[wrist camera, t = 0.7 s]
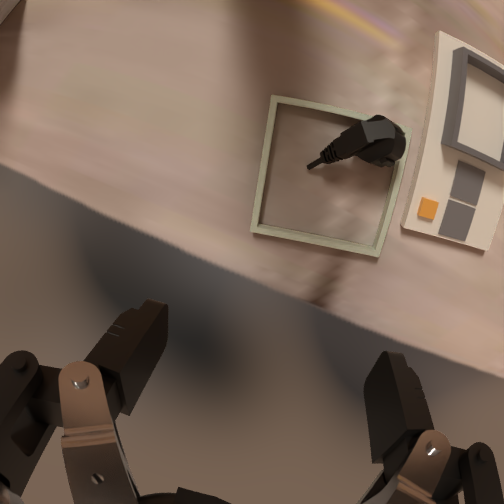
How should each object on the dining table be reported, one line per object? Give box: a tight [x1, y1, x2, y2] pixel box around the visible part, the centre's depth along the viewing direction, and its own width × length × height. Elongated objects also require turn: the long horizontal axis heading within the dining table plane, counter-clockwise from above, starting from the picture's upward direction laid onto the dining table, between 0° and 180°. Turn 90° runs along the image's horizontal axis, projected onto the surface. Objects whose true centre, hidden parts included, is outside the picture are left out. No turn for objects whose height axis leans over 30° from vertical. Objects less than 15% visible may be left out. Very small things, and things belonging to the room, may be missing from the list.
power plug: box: [307, 115, 406, 170], centre depth 33 cm, size 6×8×12 cm
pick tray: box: [250, 95, 412, 257], centre depth 35 cm, size 18×18×2 cm
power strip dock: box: [401, 30, 504, 251], centre depth 29 cm, size 28×16×4 cm, turn 172°
